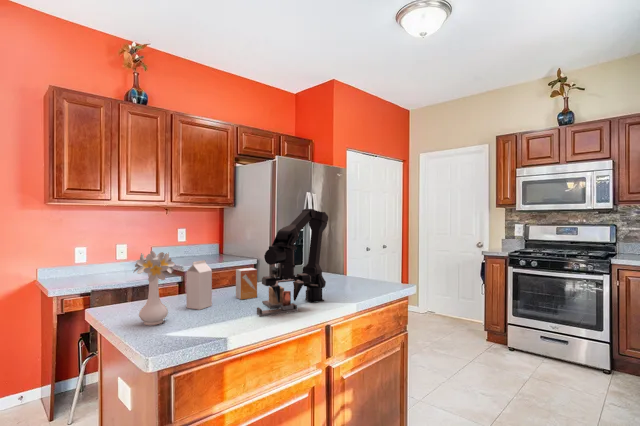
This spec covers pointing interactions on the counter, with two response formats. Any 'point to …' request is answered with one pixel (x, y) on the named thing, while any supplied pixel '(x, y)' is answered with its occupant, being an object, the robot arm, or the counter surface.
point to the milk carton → (199, 286)
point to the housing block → (273, 297)
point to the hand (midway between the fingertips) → (286, 301)
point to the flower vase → (154, 285)
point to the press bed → (271, 304)
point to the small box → (246, 283)
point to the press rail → (276, 311)
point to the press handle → (286, 301)
